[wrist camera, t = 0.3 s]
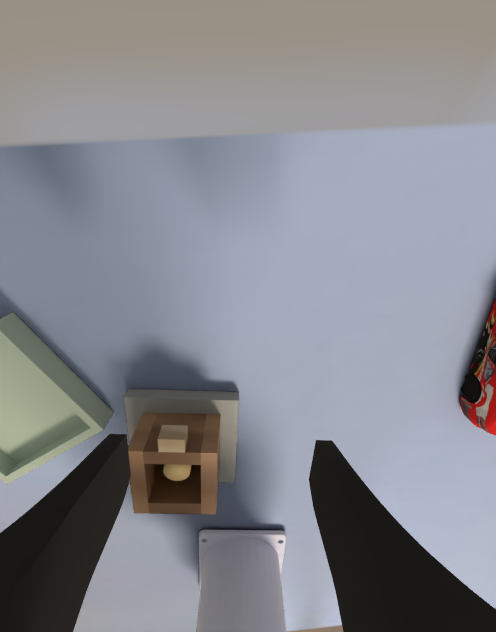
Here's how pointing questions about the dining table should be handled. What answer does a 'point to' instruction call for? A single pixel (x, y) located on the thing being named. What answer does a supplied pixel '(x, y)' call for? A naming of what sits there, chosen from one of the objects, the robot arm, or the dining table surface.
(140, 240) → the dining table surface
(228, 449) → the grey square peg base
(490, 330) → the race car
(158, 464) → the brown hollow square box
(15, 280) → the dining table surface
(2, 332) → the tray
